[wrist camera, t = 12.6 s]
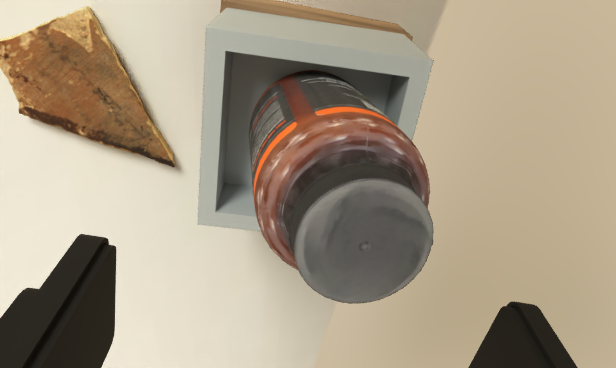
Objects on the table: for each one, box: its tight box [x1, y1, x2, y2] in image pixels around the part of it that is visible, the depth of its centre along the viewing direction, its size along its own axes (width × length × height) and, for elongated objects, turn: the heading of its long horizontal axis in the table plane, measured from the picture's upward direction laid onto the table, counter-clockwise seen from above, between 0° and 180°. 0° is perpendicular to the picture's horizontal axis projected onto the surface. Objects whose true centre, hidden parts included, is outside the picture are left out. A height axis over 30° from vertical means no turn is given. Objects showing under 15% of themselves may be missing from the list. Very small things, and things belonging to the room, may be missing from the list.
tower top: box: [198, 8, 434, 231], centre depth 23 cm, size 9×9×6 cm
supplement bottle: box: [249, 70, 433, 303], centre depth 18 cm, size 6×6×11 cm
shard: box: [0, 6, 175, 167], centre depth 30 cm, size 11×8×2 cm
